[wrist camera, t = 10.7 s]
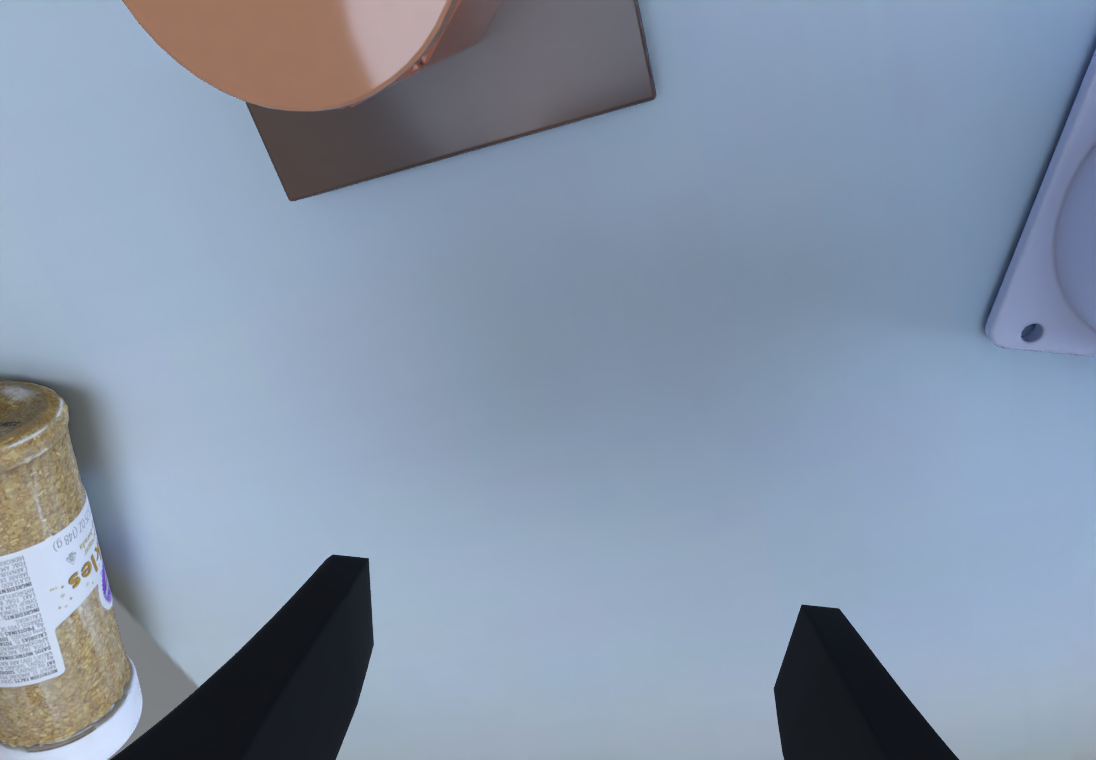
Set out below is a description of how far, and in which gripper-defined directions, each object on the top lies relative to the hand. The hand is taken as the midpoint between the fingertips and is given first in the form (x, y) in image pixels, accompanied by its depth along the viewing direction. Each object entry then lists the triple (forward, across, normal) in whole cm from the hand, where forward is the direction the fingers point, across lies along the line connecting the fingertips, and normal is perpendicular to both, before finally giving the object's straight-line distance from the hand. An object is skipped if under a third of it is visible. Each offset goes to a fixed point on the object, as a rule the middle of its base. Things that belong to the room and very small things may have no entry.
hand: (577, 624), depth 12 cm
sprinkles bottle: (+7, +17, +2) cm, 18 cm away
